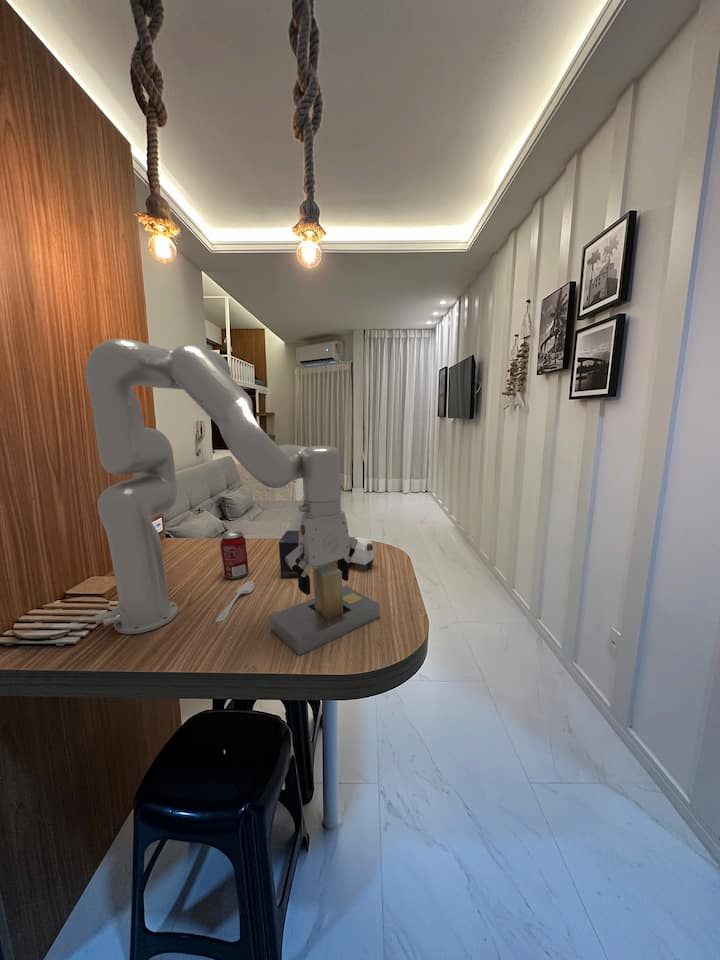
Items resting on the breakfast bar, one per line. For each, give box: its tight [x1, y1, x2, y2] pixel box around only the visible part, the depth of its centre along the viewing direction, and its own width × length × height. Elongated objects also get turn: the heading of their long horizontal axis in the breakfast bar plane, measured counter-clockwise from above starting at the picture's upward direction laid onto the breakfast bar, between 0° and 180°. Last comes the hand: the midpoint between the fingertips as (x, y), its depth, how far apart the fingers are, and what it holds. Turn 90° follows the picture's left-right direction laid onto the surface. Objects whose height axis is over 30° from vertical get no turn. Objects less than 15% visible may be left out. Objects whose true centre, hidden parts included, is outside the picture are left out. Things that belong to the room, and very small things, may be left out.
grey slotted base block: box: [269, 585, 381, 656], centre depth 81 cm, size 20×12×3 cm, turn 129°
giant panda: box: [349, 536, 375, 573], centre depth 110 cm, size 15×6×10 cm, turn 56°
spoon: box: [215, 580, 255, 623], centre depth 90 cm, size 4×21×2 cm, turn 173°
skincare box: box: [312, 562, 343, 621], centre depth 80 cm, size 6×4×12 cm
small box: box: [278, 530, 306, 579], centre depth 108 cm, size 11×6×10 cm, turn 179°
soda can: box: [219, 531, 249, 580], centre depth 106 cm, size 7×7×12 cm
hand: (324, 585), depth 80 cm, fingers open, 9 cm apart
